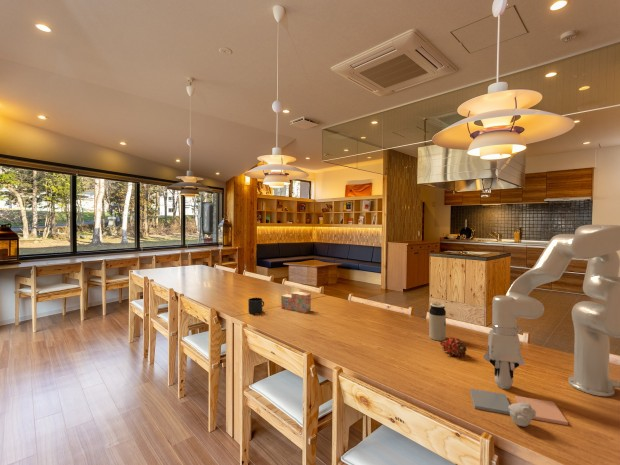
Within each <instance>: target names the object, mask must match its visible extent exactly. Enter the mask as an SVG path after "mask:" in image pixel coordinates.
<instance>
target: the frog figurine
mask: <svg viewBox="0 0 620 465" xmlns="http://www.w3.org/2000/svg"><path fill="white" fill-rule="evenodd" d="M508 408H509V409H510V415H509V416H510V418H511V420H512V421H513V423H515V424H516V425H518V426H519V427H527V426H529V425H530V423H531V420H534V419H533V418H534V417H535V416H536V411H535V410H534V409H533V408H531V405H530V404H529V403H523V402H521V403H517V402H515V403H512V404H510V405H509V407H508Z"/></svg>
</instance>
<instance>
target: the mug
mask: <svg viewBox="0 0 620 465" xmlns="http://www.w3.org/2000/svg"><path fill="white" fill-rule="evenodd" d="M247 302H248V314H250V315H258V314H262V313H263V307H264V306H265V302H264V300H263V298H261V297H251V298H249V299H248V300H247Z"/></svg>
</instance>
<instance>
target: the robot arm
mask: <svg viewBox="0 0 620 465" xmlns="http://www.w3.org/2000/svg"><path fill="white" fill-rule="evenodd" d="M619 251H620V225H618V224H584V225H581V226H578V227H577V228H576V229H575V231H574V234H573V233H572V234H571V233H560V234H556V235H553V236H552V237H551V239H550V240H549V241H548V243H547V244H546V246H545V248H544V249H543V251H542V253H541V254H540V256H539V257H538V259H537V261H536V263H535V264H534V265H533V267H532V268H530V269H528V270H527V271H525V272H524V273H523V274H521V275H520V276H519V277H517V278H516V279H515V280H514V281H513V282H512V283H511V286H510V287H509V288H508V290H507V292H506V294H505V295H502V294H501V295H500V294H499V295H495V296H493V297H492V303H491V306H492V308H491V309H492V314H491V315H492V316H491V317H492V318H491V319H492V320H491V321H492V322H491V325H492V328H491V330H489V332H488V338H487V347H486V348H487V349H486V350H487V351H486V352H485V354H484V355H483V359H484V360H485V361H487V362H489V363H490V364H491V365H492V366H493V367H494V377H495V376H496V375H497V370H498V377H499V373H500V369H499V361H506V362H509V364H510V371H509V372H510V377H511V380H512V379H514V371H515V369H517V368H519V367H520V366H524V365H525V364H526V362H525V360H524V359H523V356H522V352H521V343H520V337H519V334H518V333H520V332H522V328H521V327H517V318H520V319H522V318H523V319H530V320H534V319H538V318H541V316H543V315H544V313H545V307H544V304H543V303H542V302H541V301H539V300H538V299H537V298H533V297H531V296H529V295H530V293H531V292H532V291H533V290H535V289H536V288H537V287H539V286H541V285H544V284H549V283H551V282H552V283H553V282H556V281H558V280H560V279H561V277H562V276H563V274H564V272H565V271H566V269H567V268H568V266H569V264H570V263H571V261H572V260H573V259H574V260H575V259H576V260H584V261H585V260H587V265H586V270H585V274H584V279H583V283H582V291H583V293H584V295H586V296H588V297H589V298H592V299H595V300H598V301H602V302H605V304H602V303H599V302H594V301H588V300H583V301H582V300H581V301H578V302H576V303H575V304H574V305H573V307H572V309H571V320H572V322H573V323H572V324H573V330H574V331H573V332H574V345H573V346H574V347H573V348H574V349H573V350H574V351H573V375H571V376H569V377H568V380H567V381H568V383H569V385H570V386H572V388H575V389H577V390H579V391H581V392H583V393H587V394H588V395H589V394H590V395H594V396H599V397H613V396H615V388H619V389H620V381H618V380H617V379H613V378H612V379H611V378H610V353H611V352H610V350H611V348H610V347H611V345H610V338H609V337H611V338H615V339H620V276H619V273H620V256H619V253H618V252H619ZM505 359H506V360H505Z"/></svg>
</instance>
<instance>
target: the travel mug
mask: <svg viewBox="0 0 620 465" xmlns="http://www.w3.org/2000/svg"><path fill="white" fill-rule="evenodd" d="M429 305H430V308H429V310H428V312H429V314H428V315H429V318H428V319H429V320H428V324H429V325H428V327H429V328H428V329H429V330H428V332H429V333H428V334H429V335H428V337H429V338H430V339H431V340H433V341H438V342H439V341H440V342H442V341H445V340H447V339H446V338H447V336H446V334H447V330H446V329H447V328H446V325H447V324H446V323H447V320H446V319H447V317H446V316H447V314H446V313H447V312H446V311H447V310H446V309H445V308H446V304H445V303H440V302H431V303H429Z"/></svg>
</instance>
